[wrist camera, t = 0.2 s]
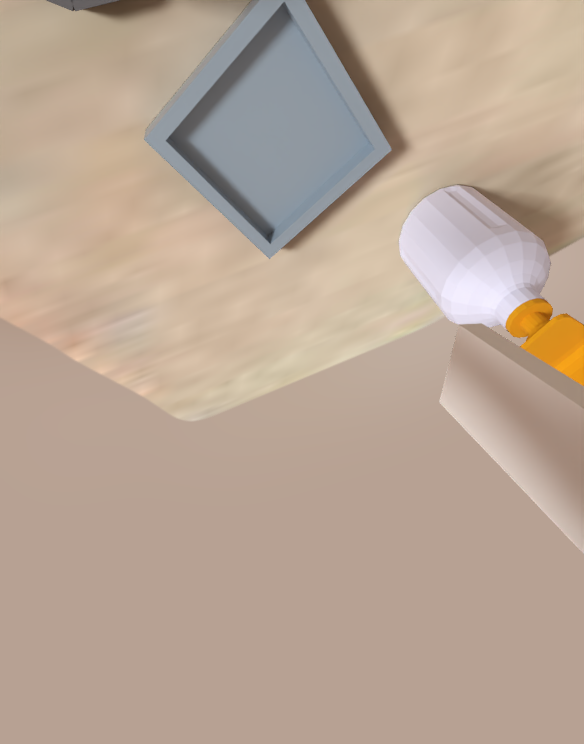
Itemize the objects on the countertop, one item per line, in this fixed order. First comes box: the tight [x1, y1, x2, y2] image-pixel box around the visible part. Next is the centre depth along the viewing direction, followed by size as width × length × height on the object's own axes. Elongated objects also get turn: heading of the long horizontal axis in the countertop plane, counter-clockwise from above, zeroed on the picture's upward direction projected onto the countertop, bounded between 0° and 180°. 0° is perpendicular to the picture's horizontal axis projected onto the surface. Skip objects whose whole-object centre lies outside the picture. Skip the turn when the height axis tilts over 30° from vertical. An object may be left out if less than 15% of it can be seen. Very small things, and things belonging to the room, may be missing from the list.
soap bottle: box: [399, 185, 584, 386], centre depth 32 cm, size 9×9×25 cm
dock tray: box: [144, 0, 392, 259], centre depth 30 cm, size 13×13×2 cm
